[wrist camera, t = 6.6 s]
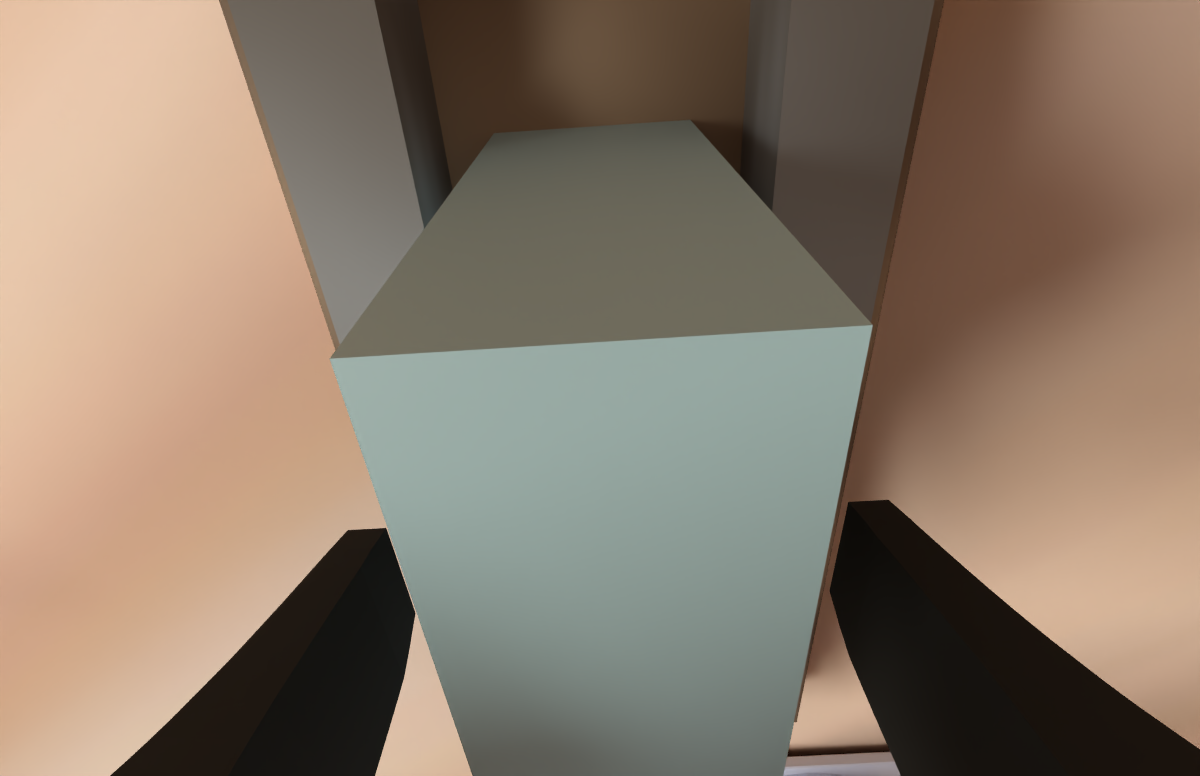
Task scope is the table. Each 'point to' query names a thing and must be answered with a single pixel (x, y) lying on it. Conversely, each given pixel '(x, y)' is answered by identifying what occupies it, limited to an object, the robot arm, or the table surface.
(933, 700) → the robot arm
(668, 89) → the door track
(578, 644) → the door panel
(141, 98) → the table surface
